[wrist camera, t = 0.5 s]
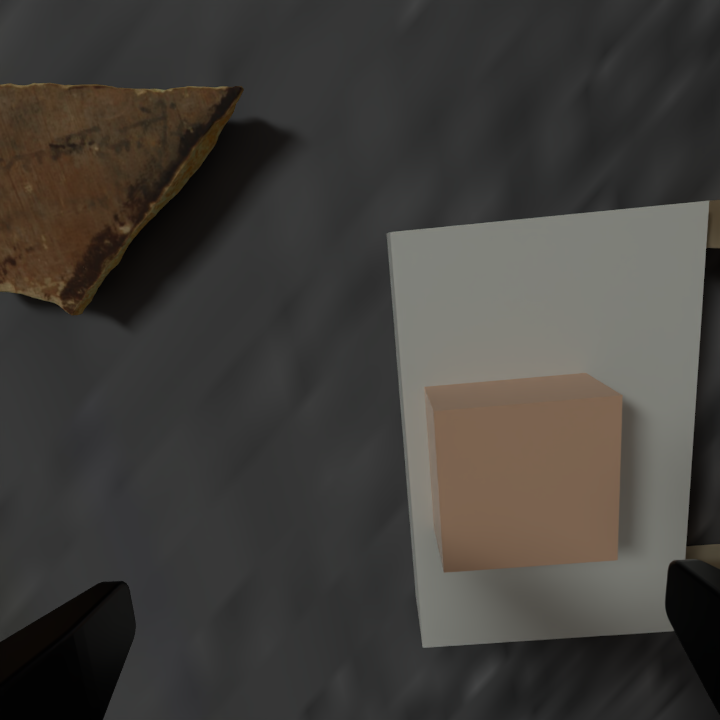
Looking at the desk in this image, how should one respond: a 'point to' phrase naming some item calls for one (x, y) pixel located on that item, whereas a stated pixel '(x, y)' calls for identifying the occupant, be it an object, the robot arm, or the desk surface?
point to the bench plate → (549, 358)
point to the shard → (92, 176)
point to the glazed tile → (524, 471)
